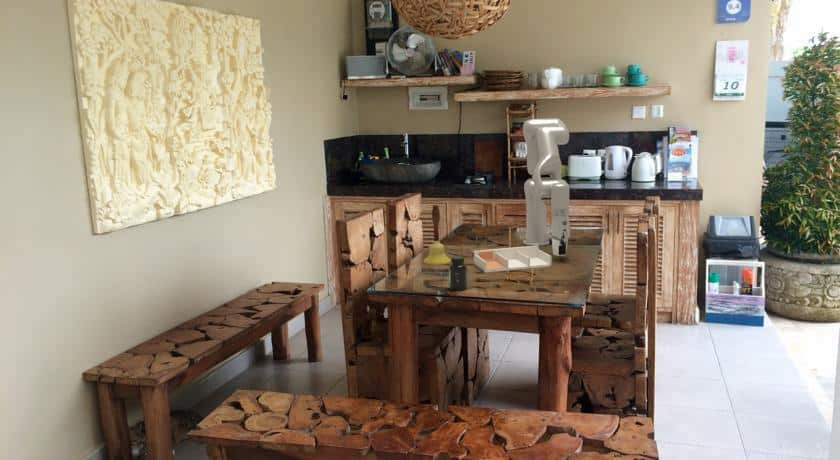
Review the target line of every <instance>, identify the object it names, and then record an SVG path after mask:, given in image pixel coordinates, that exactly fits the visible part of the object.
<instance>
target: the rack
mask: <svg viewBox="0 0 840 460" xmlns="http://www.w3.org/2000/svg"><path fill="white" fill-rule="evenodd" d="M539 247H540V246H538V245H537V246H531V245H526V246H517V247H515V246H513V247H503V248H492V249H480V250H473V265H474V266H475V267H477V268H478V269H479V270H481V271H482V272H483V273H485V274H486V273H496V272H504V271H505V272H507V271H517V270H528V269H529V270H530V269H540V268H548V267H549V268H550V267H552V255H550V254H549V253H546V252H545V251H543V250H540V248H539Z"/></svg>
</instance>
